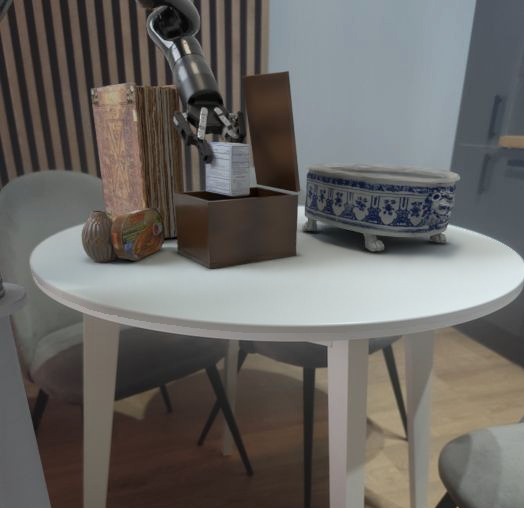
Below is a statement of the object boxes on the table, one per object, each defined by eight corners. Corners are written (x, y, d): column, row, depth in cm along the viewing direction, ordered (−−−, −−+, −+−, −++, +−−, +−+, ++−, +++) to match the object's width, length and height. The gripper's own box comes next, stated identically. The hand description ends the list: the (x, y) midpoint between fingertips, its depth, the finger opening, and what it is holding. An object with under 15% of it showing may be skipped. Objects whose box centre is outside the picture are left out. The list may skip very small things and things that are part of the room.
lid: (284, 71, 82) (288, 70, 82) (241, 76, 92) (245, 75, 92) (296, 192, 91) (300, 191, 92) (256, 184, 102) (260, 183, 102)
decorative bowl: (271, 226, 122) (272, 161, 116) (353, 216, 135) (358, 158, 129) (397, 266, 90) (408, 179, 84) (489, 249, 103) (505, 173, 96)
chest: (210, 269, 87) (207, 202, 82) (177, 252, 98) (173, 192, 93) (296, 255, 97) (298, 194, 92) (258, 241, 107) (258, 186, 102)
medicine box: (250, 195, 90) (251, 144, 87) (230, 197, 87) (231, 144, 84) (224, 190, 96) (224, 141, 92) (205, 191, 93) (204, 141, 89)
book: (187, 238, 109) (179, 84, 97) (148, 243, 104) (134, 82, 92) (141, 220, 128) (129, 89, 115) (106, 223, 123) (90, 87, 111)
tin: (126, 265, 89) (121, 217, 85) (111, 264, 90) (105, 216, 86) (167, 247, 102) (164, 205, 98) (153, 246, 102) (150, 204, 99)
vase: (76, 262, 90) (69, 213, 87) (98, 253, 96) (92, 207, 93) (109, 265, 89) (103, 215, 85) (130, 256, 95) (125, 209, 91)
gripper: (163, 69, 88) (191, 146, 83) (237, 72, 94) (266, 144, 89) (157, 103, 94) (182, 176, 90) (226, 104, 100) (253, 172, 96)
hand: (224, 160), depth 90 cm, fingers closed on medicine box, 5 cm apart
